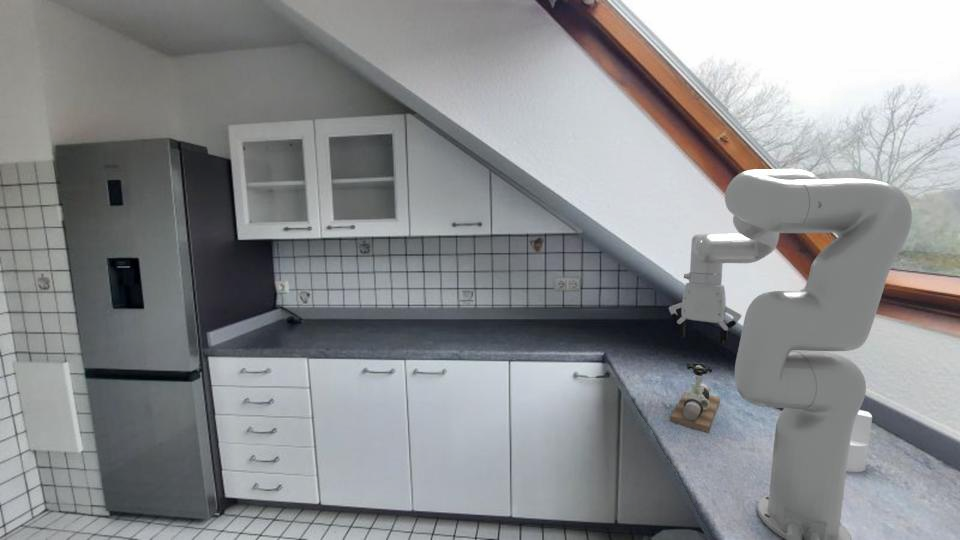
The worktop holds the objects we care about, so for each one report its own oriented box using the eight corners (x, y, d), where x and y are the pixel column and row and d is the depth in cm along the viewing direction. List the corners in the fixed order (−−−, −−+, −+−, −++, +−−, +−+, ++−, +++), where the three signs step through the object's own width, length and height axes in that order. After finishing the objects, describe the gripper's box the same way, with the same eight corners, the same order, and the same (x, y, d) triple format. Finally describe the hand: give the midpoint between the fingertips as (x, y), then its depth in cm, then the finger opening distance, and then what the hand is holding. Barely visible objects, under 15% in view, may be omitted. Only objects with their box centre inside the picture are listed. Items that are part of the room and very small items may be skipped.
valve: (702, 400, 110) (704, 361, 109) (714, 412, 104) (717, 370, 103) (679, 400, 111) (681, 361, 109) (690, 411, 104) (693, 370, 103)
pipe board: (708, 432, 96) (710, 411, 96) (670, 421, 102) (671, 401, 101) (719, 402, 113) (721, 384, 112) (686, 394, 118) (687, 377, 118)
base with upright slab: (814, 462, 84) (820, 412, 83) (808, 443, 92) (813, 396, 90) (871, 477, 79) (878, 423, 78) (859, 455, 87) (865, 406, 85)
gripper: (667, 278, 105) (664, 337, 107) (742, 283, 94) (737, 349, 96) (673, 275, 111) (670, 332, 113) (744, 280, 100) (740, 342, 102)
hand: (701, 340), depth 105 cm, fingers open, 9 cm apart
